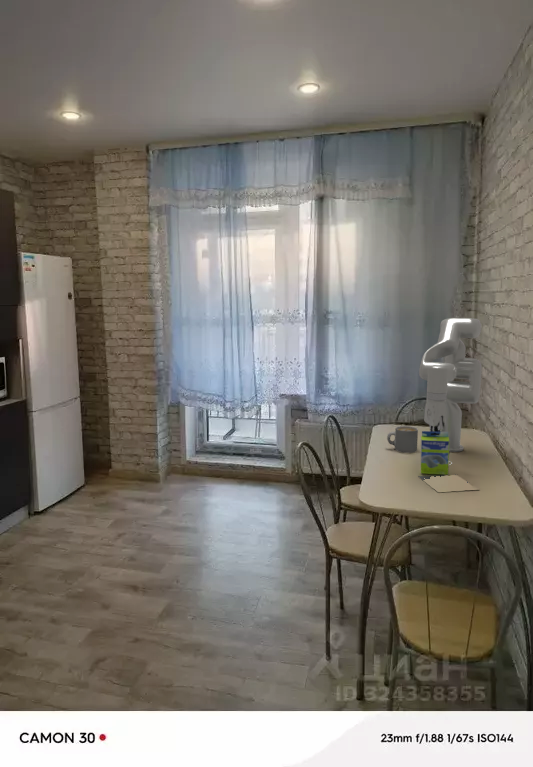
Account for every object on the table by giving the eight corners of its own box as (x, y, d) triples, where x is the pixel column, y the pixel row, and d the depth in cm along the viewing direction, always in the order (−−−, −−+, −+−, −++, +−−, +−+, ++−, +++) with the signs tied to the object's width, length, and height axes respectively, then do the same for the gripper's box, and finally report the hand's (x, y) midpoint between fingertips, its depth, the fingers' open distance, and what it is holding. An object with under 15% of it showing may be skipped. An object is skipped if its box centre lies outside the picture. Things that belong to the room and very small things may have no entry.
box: (420, 474, 208) (421, 435, 201) (420, 468, 211) (420, 430, 205) (448, 475, 205) (449, 436, 199) (448, 469, 208) (449, 431, 202)
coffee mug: (417, 447, 244) (418, 426, 242) (416, 453, 235) (417, 432, 233) (388, 445, 248) (389, 424, 247) (386, 450, 239) (386, 429, 237)
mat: (418, 476, 204) (418, 476, 204) (456, 474, 206) (456, 474, 206) (437, 492, 188) (437, 492, 188) (479, 490, 190) (479, 489, 190)
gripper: (419, 393, 211) (417, 437, 214) (435, 400, 197) (433, 447, 200) (437, 393, 212) (435, 436, 215) (454, 399, 197) (452, 446, 200)
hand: (434, 441), depth 207 cm, fingers closed
